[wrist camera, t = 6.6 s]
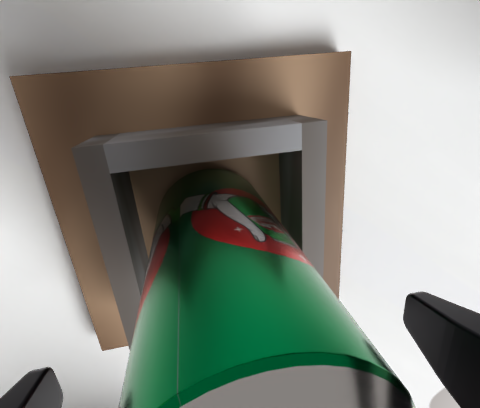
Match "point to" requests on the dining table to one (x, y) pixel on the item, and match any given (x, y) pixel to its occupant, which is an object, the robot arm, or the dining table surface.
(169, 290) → the soda can
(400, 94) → the dining table surface
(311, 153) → the keeper board
